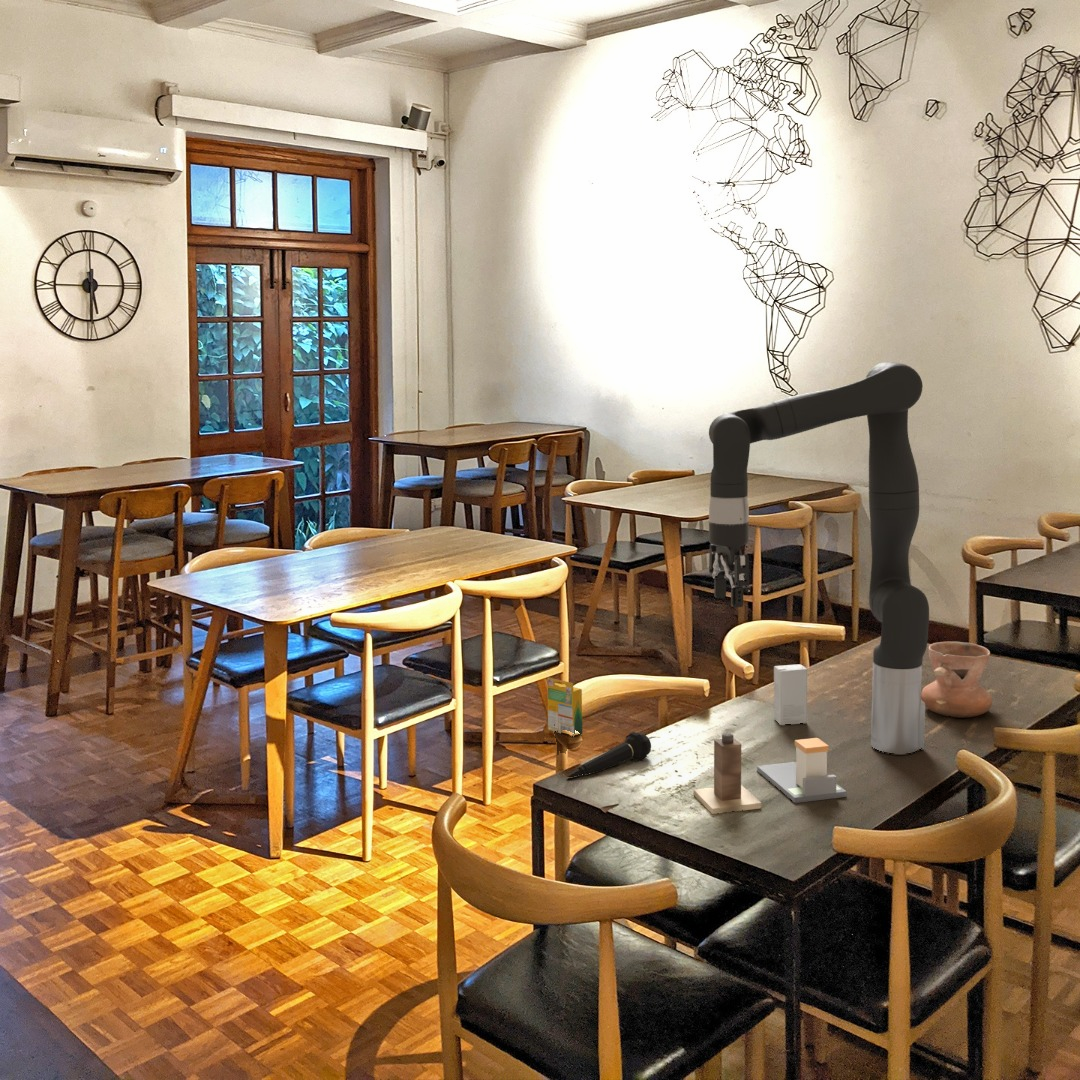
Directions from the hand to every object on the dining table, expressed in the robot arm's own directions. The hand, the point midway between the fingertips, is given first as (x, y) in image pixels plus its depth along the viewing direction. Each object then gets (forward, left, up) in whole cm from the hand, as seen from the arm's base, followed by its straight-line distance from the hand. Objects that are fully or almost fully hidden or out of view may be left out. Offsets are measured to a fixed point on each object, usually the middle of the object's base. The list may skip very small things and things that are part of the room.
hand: (728, 602), depth 229 cm
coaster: (+10, +24, -30) cm, 40 cm away
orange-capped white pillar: (-6, +24, -29) cm, 38 cm away
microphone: (+25, +1, -31) cm, 40 cm away
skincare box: (-19, -12, -30) cm, 38 cm away
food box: (+28, -20, -30) cm, 46 cm away
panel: (-6, +20, -30) cm, 37 cm away
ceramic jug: (-56, -8, -30) cm, 64 cm away
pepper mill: (+10, +24, -29) cm, 39 cm away
